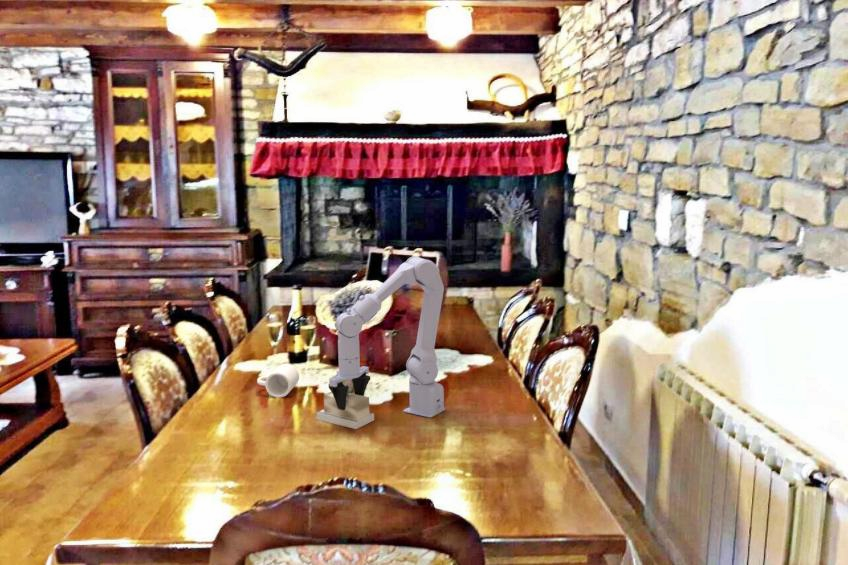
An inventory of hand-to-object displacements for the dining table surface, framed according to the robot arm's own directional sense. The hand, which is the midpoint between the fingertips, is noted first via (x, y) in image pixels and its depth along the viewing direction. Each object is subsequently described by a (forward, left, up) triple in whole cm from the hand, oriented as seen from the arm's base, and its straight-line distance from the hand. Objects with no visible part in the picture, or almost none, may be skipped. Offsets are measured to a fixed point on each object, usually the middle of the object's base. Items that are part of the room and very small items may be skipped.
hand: (350, 405), depth 195 cm
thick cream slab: (+1, 0, -3) cm, 3 cm away
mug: (+36, -7, -5) cm, 37 cm away
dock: (+2, 0, -5) cm, 5 cm away
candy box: (+15, -17, -5) cm, 24 cm away
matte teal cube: (+3, +1, +2) cm, 4 cm away
